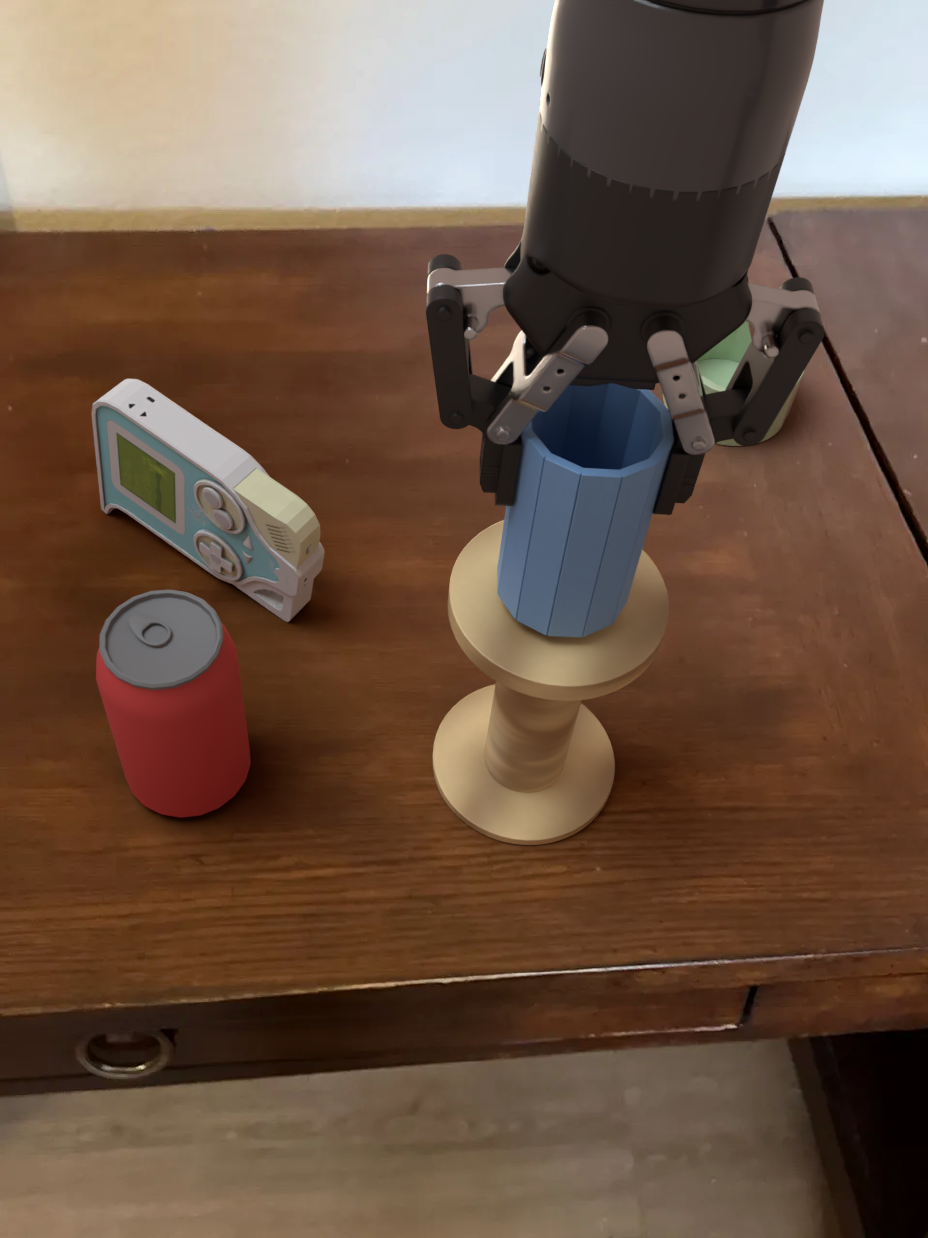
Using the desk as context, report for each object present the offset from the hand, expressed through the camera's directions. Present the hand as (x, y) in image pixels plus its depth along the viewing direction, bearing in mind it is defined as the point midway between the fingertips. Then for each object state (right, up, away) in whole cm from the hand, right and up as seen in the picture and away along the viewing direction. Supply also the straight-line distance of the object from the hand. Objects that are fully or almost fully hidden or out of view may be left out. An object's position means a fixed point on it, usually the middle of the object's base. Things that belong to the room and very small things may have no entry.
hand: (582, 494), depth 49 cm
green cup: (+14, +10, +36) cm, 40 cm away
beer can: (-20, -13, +16) cm, 28 cm away
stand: (-2, -13, +17) cm, 22 cm away
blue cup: (0, -4, +5) cm, 6 cm away
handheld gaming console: (-20, -2, +24) cm, 32 cm away
